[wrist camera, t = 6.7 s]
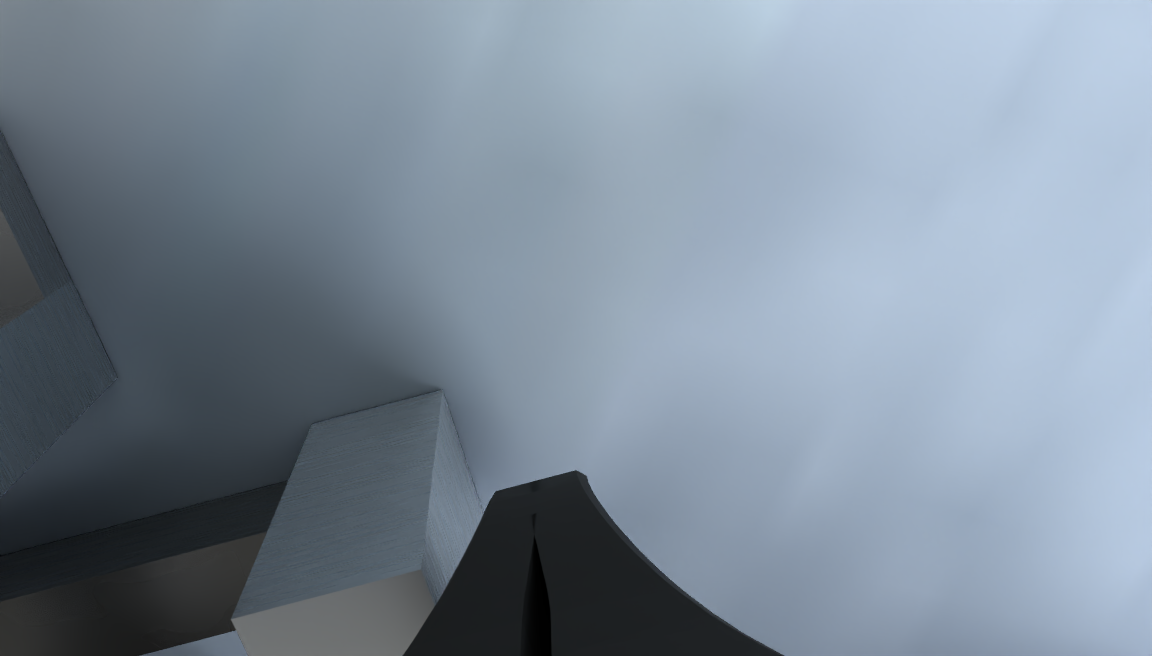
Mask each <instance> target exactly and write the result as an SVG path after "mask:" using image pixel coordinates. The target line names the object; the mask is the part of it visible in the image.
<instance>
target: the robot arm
mask: <svg viewBox="0 0 1152 656" xmlns="http://www.w3.org/2000/svg"><path fill="white" fill-rule="evenodd" d="M402 656H784V655H782V654H780V653H778V652H776V651H775V650H773V649H771V648H769V647H767V646H765V645H764V644H762V643H760V642H758V641H756V640H754V639H753V638H751V637H749V636H747V635H745V634H744V633H742V632H741V631H739V630H738V629H736V628H734V627H733V626H731V625H730V624H728V623H727V622H725V621H724V620H722V619H721V618H719V617H718V616H716V615H715V614H713V613H712V612H711V611H709V610H708V609H707V608H705V607H704V606H703V605H701V604H700V603H699V602H697V601H696V600H695V599H693V598H692V597H691V596H689V595H688V594H687V593H686V592H684V591H683V590H682V589H681V588H679V587H678V586H677V585H676V584H675V583H674V582H672V581H671V580H670V579H669V578H668V577H667V576H666V575H665V574H664V573H662V572H661V571H660V570H659V569H658V568H657V567H656V566H655V565H654V564H653V563H652V562H651V561H649V560H648V559H647V558H646V557H645V555H644V554H643V553H642V552H641V551H640V550H639V549H638V548H637V547H636V546H635V545H634V544H633V543H632V542H631V541H630V540H629V538H628V537H627V536H626V535H625V534H624V533H623V532H622V531H621V530H620V528H619V527H618V526H617V525H616V524H615V522H614V521H613V520H612V519H611V518H610V516H609V515H608V514H607V512H606V511H605V509H604V508H603V507H602V505H601V504H600V502H599V501H598V499H597V498H596V496H595V495H594V493H593V491H592V489H591V487H590V485H589V483H588V479H587V476H586V475H584V474H582V473H580V472H579V471H577V470H575V471H571V472H568V473H564V474H560V475H556V476H552V477H549V478H545V479H541V480H537V481H533V482H530V483H526V484H522V485H518V486H514V487H511V488H507V489H503V490H499V491H496V492H495V493H494V495H493V497H492V498H491V500H490V501H489V504H488V506H487V508H486V510H485V512H484V514H483V516H482V518H481V520H480V523H479V525H478V527H477V529H476V531H475V533H474V535H473V537H472V539H471V541H470V543H469V545H468V547H467V549H466V551H465V553H464V555H463V557H462V559H461V560H460V562H459V564H458V566H457V568H456V570H455V571H454V573H453V575H452V577H451V579H450V581H449V583H448V584H447V586H446V588H445V590H444V592H443V593H442V595H441V597H440V598H439V600H438V602H437V603H436V605H435V606H434V608H433V610H432V611H431V613H430V614H429V616H428V618H427V619H426V621H425V622H424V624H423V625H422V627H421V629H420V630H419V632H418V633H417V635H416V637H415V638H414V640H413V641H412V643H411V644H410V646H409V647H408V648H407V650H406V651H405V653H404V654H403V655H402Z"/></svg>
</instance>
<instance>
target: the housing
mask: <svg viewBox="0 0 1152 656" xmlns="http://www.w3.org/2000/svg"><path fill="white" fill-rule="evenodd" d="M117 378H118V377H117V375H116V373H115V371H114V369H113V366H112V364H111V362H110V360H109V358H108V356H107V354H106V352H105V350H104V347H103V345H102V343H101V341H100V339H99V337H98V335H97V333H96V331H95V329H94V326H93V324H92V322H91V320H90V318H89V316H88V314H87V312H86V310H85V307H84V305H83V303H82V301H81V299H80V297H79V295H78V293H77V291H76V289H75V286H74V284H73V282H72V280H71V278H70V276H69V274H68V272H67V270H66V267H65V265H64V263H63V261H62V259H61V257H60V255H59V253H58V251H57V249H56V246H55V244H54V242H53V240H52V238H51V236H50V234H49V232H48V230H47V227H46V225H45V223H44V221H43V219H42V217H41V215H40V213H39V211H38V209H37V206H36V204H35V202H34V200H33V198H32V196H31V194H30V192H29V190H28V187H27V185H26V183H25V181H24V179H23V177H22V175H21V173H20V171H19V169H18V166H17V164H16V162H15V160H14V158H13V156H12V154H11V152H10V150H9V147H8V145H7V143H6V141H5V139H4V137H3V135H2V133H1V131H0V498H1V497H2V496H3V495H4V494H5V493H6V492H7V491H8V490H9V489H10V488H11V486H12V485H13V484H14V483H15V482H16V481H17V480H18V479H19V478H20V477H21V476H22V475H23V474H24V473H25V472H26V471H27V470H28V469H29V468H30V467H31V466H32V465H33V464H34V463H35V462H36V461H37V460H38V459H39V458H40V457H41V456H42V455H43V454H44V453H45V452H46V451H47V449H48V448H49V447H50V446H51V445H52V444H53V443H54V442H55V441H56V440H57V439H58V438H59V437H60V436H61V435H62V434H63V433H64V432H65V431H66V430H67V429H68V428H69V427H70V426H71V425H72V424H73V423H74V422H75V421H76V420H77V419H78V418H79V417H80V416H81V415H82V414H83V412H84V411H85V410H86V409H87V408H88V407H89V406H90V405H91V404H92V403H93V402H94V401H95V400H96V399H97V398H98V397H99V396H100V395H101V394H102V393H103V392H104V391H105V390H106V389H107V388H108V387H109V386H110V385H111V384H112V383H113V382H114V381H115V380H116V379H117Z"/></svg>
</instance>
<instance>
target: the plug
mask: <svg viewBox="0 0 1152 656" xmlns="http://www.w3.org/2000/svg"><path fill="white" fill-rule="evenodd" d="M482 516H483V511H482V508H481V505H480V502H479V499H478V496H477V493H476V490H475V487H474V484H473V481H472V477H471V474H470V471H469V468H468V465H467V462H466V459H465V456H464V453H463V450H462V447H461V444H460V441H459V438H458V435H457V432H456V429H455V426H454V423H453V420H452V417H451V414H450V411H449V408H448V405H447V402H446V399H445V396H444V393H443V389H442V390H439V391H435V392H431V393H427V394H423V395H420V396H416V397H412V398H408V399H404V400H401V401H397V402H393V403H389V404H385V405H382V406H378V407H374V408H370V409H366V410H363V411H359V412H355V413H351V414H347V415H343V416H340V417H336V418H332V419H328V420H324V421H321V422H317V423H313V424H312V425H311V427H310V430H309V432H308V435H307V437H306V439H305V442H304V444H303V447H302V449H301V452H300V454H299V456H298V459H297V461H296V464H295V466H294V468H293V471H292V473H291V476H290V478H289V480H288V481H285V482H281V483H277V484H273V485H269V486H266V487H262V488H258V489H254V490H250V491H247V492H243V493H239V494H235V495H231V496H227V497H224V498H220V499H216V500H212V501H208V502H205V503H201V504H197V505H193V506H189V507H186V508H182V509H178V510H174V511H170V512H167V513H163V514H159V515H155V516H151V517H148V518H144V519H140V520H136V521H132V522H128V523H125V524H121V525H117V526H113V527H109V528H106V529H102V530H98V531H94V532H90V533H87V534H83V535H79V536H75V537H71V538H68V539H64V540H60V541H56V542H52V543H49V544H45V545H41V546H37V547H33V548H29V549H26V550H22V551H18V552H14V553H10V554H7V555H3V556H0V656H140V655H144V654H147V653H151V652H155V651H159V650H163V649H166V648H170V647H174V646H178V645H182V644H185V643H189V642H193V641H197V640H201V639H204V638H208V637H212V636H216V635H220V634H224V633H227V632H231V631H235V630H236V631H237V633H238V635H239V637H240V640H241V642H242V644H243V646H244V648H245V650H246V652H247V654H248V656H402V655H403V654H404V653H405V651H406V650H407V648H408V647H409V646H410V644H411V643H412V641H413V640H414V638H415V637H416V635H417V633H418V632H419V630H420V629H421V627H422V625H423V624H424V622H425V621H426V619H427V618H428V616H429V614H430V613H431V611H432V610H433V608H434V606H435V605H436V603H437V602H438V600H439V598H440V597H441V595H442V593H443V592H444V590H445V588H446V586H447V584H448V583H449V581H450V579H451V577H452V575H453V573H454V571H455V570H456V568H457V566H458V564H459V562H460V560H461V559H462V557H463V555H464V553H465V551H466V549H467V547H468V545H469V543H470V541H471V539H472V537H473V535H474V533H475V531H476V529H477V527H478V525H479V523H480V520H481V518H482Z"/></svg>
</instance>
